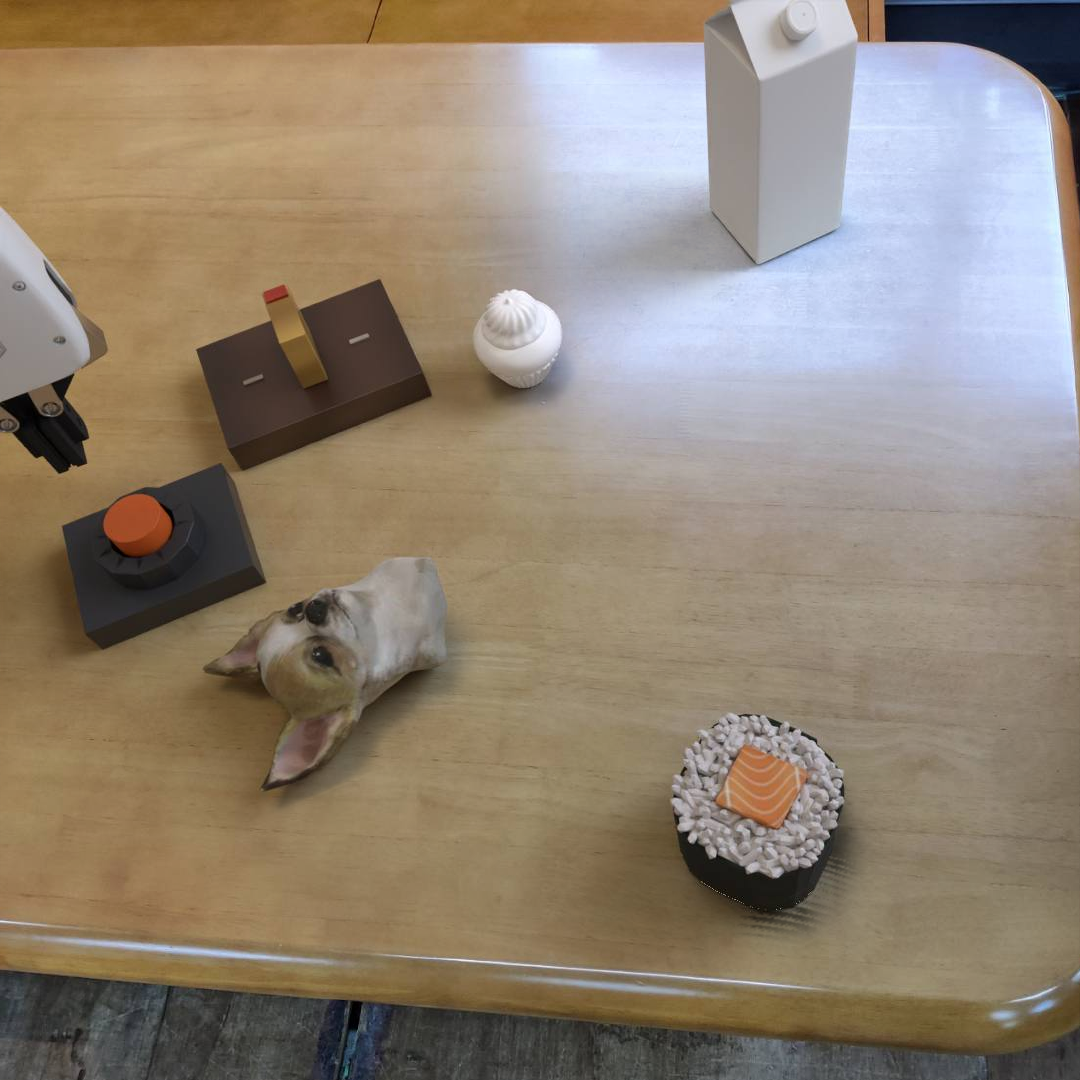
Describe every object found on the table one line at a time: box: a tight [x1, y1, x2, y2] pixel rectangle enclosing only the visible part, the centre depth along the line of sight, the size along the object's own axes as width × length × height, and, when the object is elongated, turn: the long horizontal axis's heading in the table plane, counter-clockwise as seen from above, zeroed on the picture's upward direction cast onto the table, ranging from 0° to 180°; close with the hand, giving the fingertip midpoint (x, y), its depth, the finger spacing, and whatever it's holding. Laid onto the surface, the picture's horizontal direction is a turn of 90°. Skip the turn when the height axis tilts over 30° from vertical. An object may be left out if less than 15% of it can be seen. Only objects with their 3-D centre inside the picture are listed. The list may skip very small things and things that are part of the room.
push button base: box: [61, 462, 267, 651], centre depth 71 cm, size 11×9×4 cm
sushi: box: [669, 712, 845, 913], centre depth 57 cm, size 8×8×8 cm
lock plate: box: [195, 278, 432, 472], centre depth 78 cm, size 14×10×3 cm
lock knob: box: [261, 284, 328, 389], centre depth 75 cm, size 5×2×5 cm, turn 23°
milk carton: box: [703, 0, 859, 265], centre depth 74 cm, size 7×7×19 cm
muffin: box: [472, 288, 563, 389], centre depth 75 cm, size 6×6×7 cm
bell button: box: [103, 494, 173, 557], centre depth 69 cm, size 4×4×2 cm
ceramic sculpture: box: [202, 555, 448, 793], centre depth 64 cm, size 11×9×15 cm
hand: (69, 450), depth 63 cm, fingers closed
